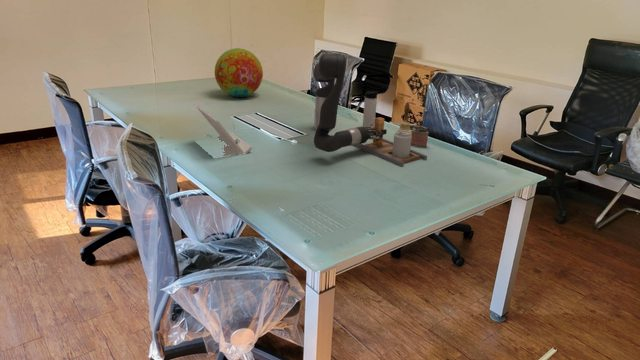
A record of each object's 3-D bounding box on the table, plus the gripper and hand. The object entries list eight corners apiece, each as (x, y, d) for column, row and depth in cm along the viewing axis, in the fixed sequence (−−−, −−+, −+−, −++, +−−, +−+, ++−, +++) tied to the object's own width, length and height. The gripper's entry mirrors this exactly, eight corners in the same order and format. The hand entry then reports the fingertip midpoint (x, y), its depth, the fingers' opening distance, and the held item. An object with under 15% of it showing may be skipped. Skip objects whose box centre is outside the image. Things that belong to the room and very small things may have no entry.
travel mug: (374, 130, 238) (377, 92, 230) (361, 129, 239) (364, 91, 231) (375, 127, 243) (378, 90, 235) (363, 126, 245) (366, 89, 237)
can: (390, 154, 206) (392, 129, 201) (406, 154, 206) (409, 129, 202) (394, 160, 199) (397, 134, 194) (410, 160, 200) (414, 134, 195)
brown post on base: (419, 159, 201) (424, 128, 196) (400, 164, 195) (404, 132, 189) (382, 143, 219) (384, 115, 213) (363, 147, 212) (365, 118, 207)
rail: (426, 160, 201) (427, 155, 200) (400, 167, 192) (401, 162, 191) (368, 136, 229) (368, 132, 228) (343, 141, 220) (343, 137, 219)
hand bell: (393, 132, 236) (396, 102, 230) (402, 129, 242) (405, 99, 235) (406, 136, 231) (410, 105, 225) (415, 133, 237) (419, 103, 230)
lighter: (427, 146, 218) (429, 126, 214) (426, 148, 215) (429, 128, 211) (410, 144, 221) (412, 124, 217) (409, 146, 218) (411, 125, 214)
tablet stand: (213, 159, 193) (211, 120, 186) (194, 142, 212) (191, 106, 205) (253, 153, 202) (252, 115, 195) (231, 137, 221) (229, 102, 214)
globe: (259, 103, 282) (259, 53, 270) (211, 101, 282) (208, 50, 270) (265, 92, 309) (265, 46, 297) (221, 90, 309) (219, 44, 297)
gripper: (366, 132, 196) (395, 126, 205) (345, 124, 206) (373, 118, 216) (365, 149, 199) (393, 142, 208) (344, 140, 209) (372, 134, 219)
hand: (383, 130), depth 212 cm, fingers closed on brown post on base, 3 cm apart
